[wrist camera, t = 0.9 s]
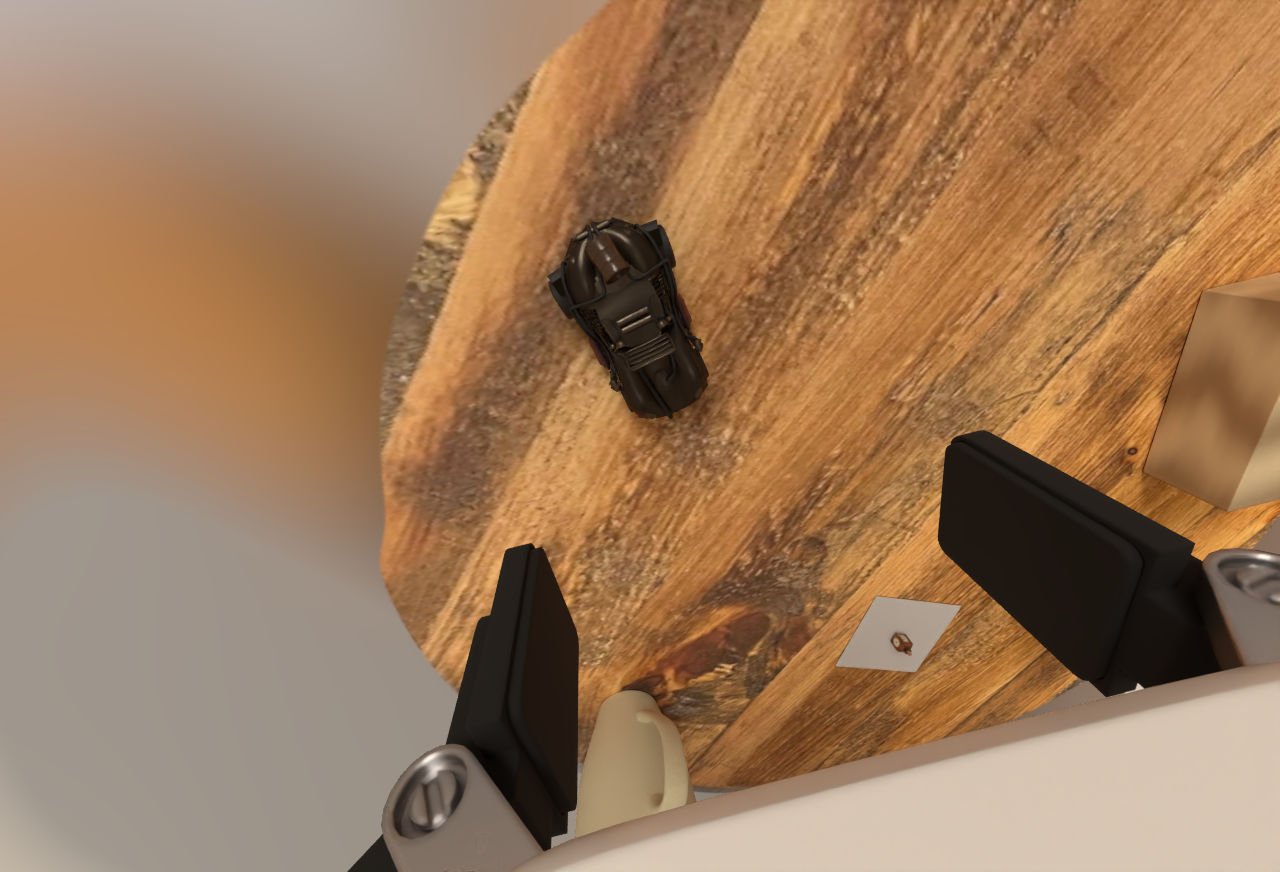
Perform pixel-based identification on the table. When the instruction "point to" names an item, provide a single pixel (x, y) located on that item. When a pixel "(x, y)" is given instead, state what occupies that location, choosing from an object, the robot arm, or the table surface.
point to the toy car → (633, 314)
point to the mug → (631, 765)
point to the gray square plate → (897, 634)
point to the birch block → (1226, 400)
